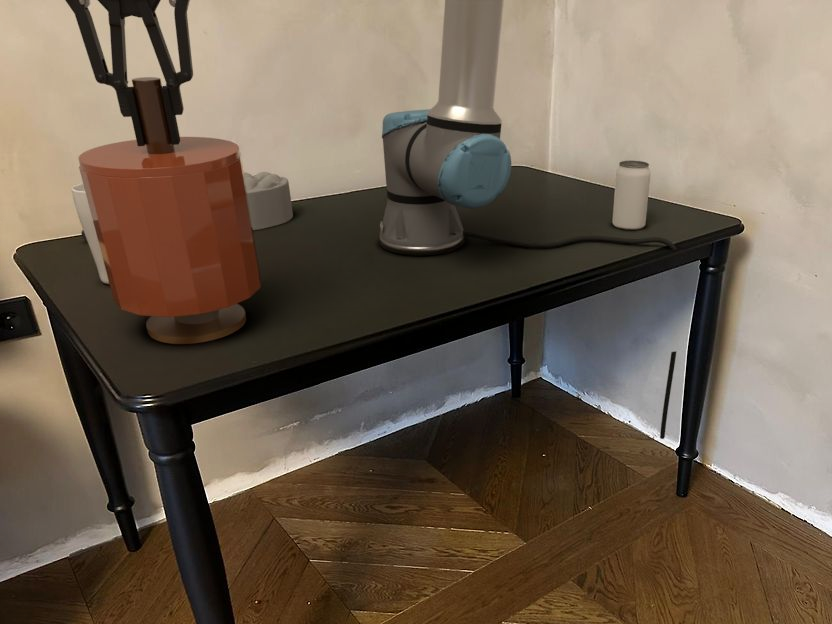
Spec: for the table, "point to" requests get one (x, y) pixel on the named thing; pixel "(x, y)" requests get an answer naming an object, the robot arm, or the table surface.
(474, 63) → the robot arm
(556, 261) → the table surface
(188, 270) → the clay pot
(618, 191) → the can
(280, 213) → the lumpy-topped squat cylinder
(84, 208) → the drinking glass
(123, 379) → the table surface
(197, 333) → the round golden metal disc
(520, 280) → the table surface
